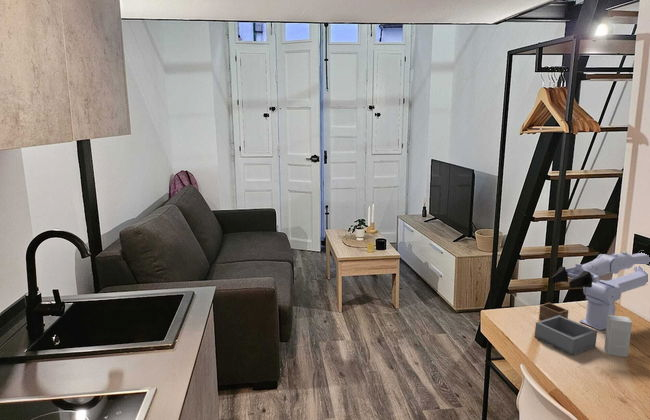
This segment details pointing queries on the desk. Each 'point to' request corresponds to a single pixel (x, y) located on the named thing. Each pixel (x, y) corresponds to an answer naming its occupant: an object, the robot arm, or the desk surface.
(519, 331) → the desk surface
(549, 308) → the small crate
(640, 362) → the desk surface
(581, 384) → the desk surface
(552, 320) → the big crate
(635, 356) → the desk surface
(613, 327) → the skincare box
